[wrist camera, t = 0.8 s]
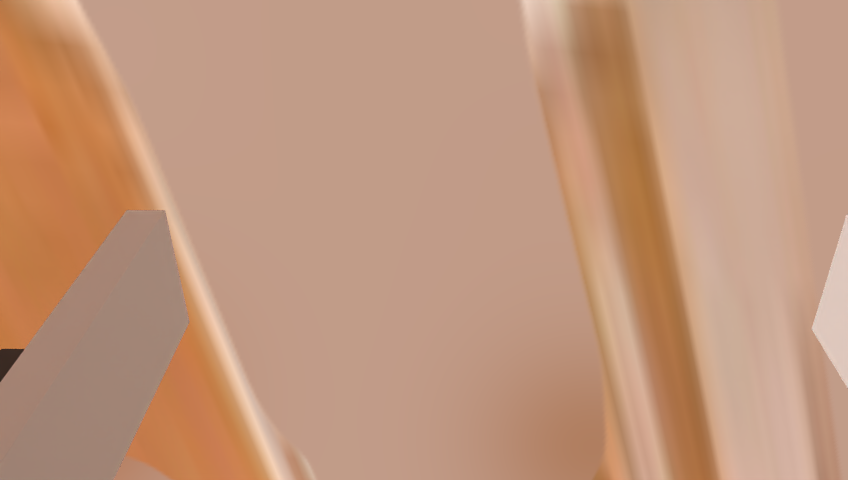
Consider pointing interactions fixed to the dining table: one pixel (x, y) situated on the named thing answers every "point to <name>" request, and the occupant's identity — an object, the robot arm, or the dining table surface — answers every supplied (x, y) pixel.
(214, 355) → the dining table surface
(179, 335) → the robot arm
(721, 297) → the dining table surface
